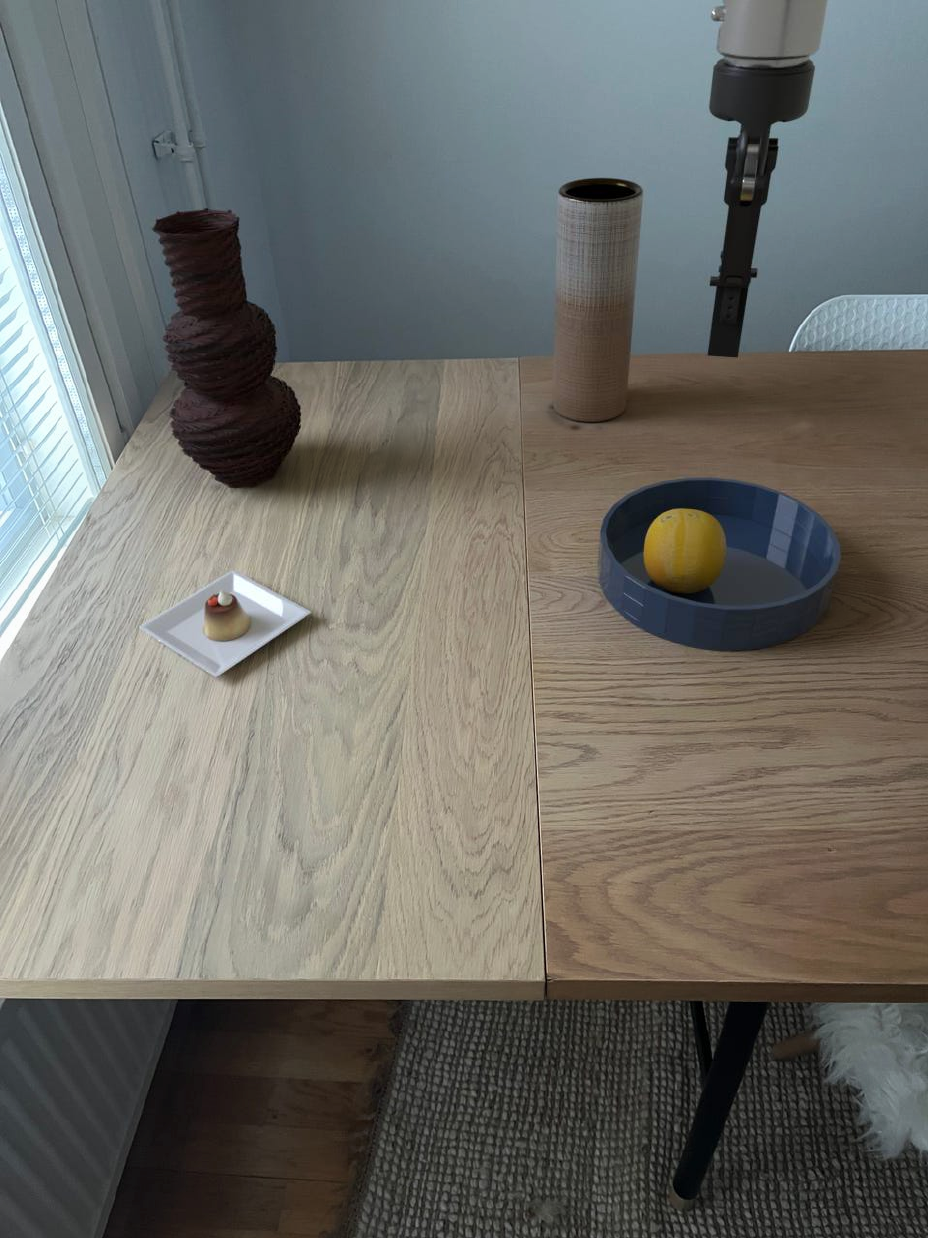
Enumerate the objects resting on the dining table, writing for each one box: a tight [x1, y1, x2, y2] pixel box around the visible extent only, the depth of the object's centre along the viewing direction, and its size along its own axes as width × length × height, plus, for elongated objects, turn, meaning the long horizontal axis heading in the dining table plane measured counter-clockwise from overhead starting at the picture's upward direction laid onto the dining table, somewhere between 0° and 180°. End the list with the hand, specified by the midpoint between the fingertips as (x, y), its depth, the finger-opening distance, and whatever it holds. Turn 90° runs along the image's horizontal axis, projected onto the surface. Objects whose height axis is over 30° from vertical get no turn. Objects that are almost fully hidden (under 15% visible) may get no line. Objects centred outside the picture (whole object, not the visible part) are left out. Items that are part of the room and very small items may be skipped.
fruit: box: [644, 509, 726, 594], centre depth 93 cm, size 9×8×8 cm
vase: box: [151, 207, 302, 488], centre depth 109 cm, size 15×15×30 cm
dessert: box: [138, 569, 312, 678], centre depth 92 cm, size 12×12×5 cm
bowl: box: [597, 476, 842, 652], centre depth 96 cm, size 23×23×5 cm
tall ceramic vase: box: [552, 177, 644, 423], centre depth 120 cm, size 10×10×28 cm
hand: (722, 352), depth 87 cm, fingers closed
